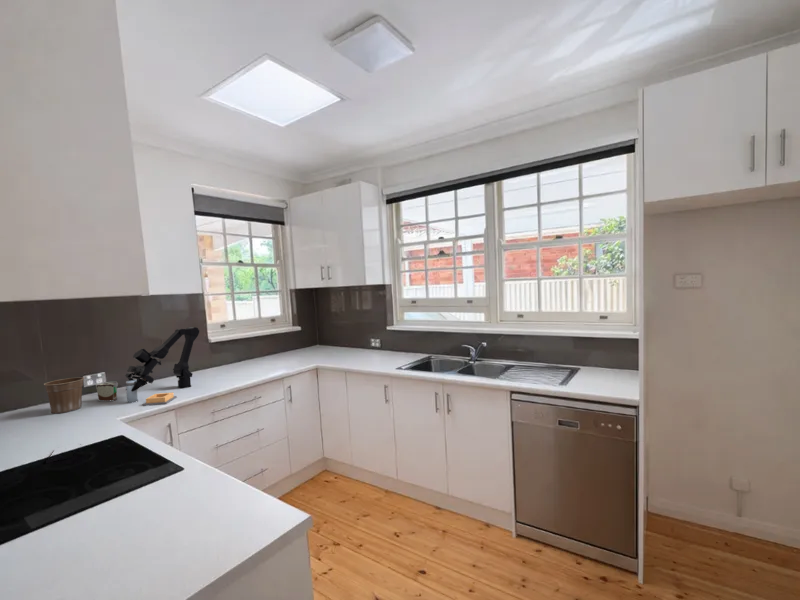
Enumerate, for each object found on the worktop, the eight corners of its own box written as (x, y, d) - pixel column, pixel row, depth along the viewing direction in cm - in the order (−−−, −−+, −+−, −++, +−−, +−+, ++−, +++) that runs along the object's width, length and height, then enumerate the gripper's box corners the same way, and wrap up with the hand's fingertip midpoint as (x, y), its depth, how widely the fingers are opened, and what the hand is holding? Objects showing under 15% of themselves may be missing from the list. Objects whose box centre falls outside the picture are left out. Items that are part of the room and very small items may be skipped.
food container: (124, 397, 219) (123, 381, 219) (115, 400, 213) (114, 383, 213) (105, 397, 221) (104, 381, 220) (96, 401, 215) (95, 384, 214)
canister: (137, 399, 213) (136, 379, 213) (138, 401, 210) (136, 380, 209) (127, 401, 210) (125, 381, 210) (127, 403, 206) (126, 382, 206)
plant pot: (52, 408, 203) (50, 379, 203) (90, 403, 210) (87, 375, 210) (40, 417, 189) (38, 386, 188) (81, 411, 196) (78, 381, 195)
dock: (154, 399, 213) (154, 393, 213) (176, 397, 214) (176, 391, 214) (142, 405, 201) (142, 399, 201) (166, 404, 202) (166, 397, 202)
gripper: (127, 359, 217) (107, 382, 207) (147, 360, 209) (127, 384, 199) (142, 369, 224) (123, 392, 214) (161, 371, 216) (143, 395, 207)
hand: (129, 390), depth 208 cm, fingers closed on canister, 5 cm apart
